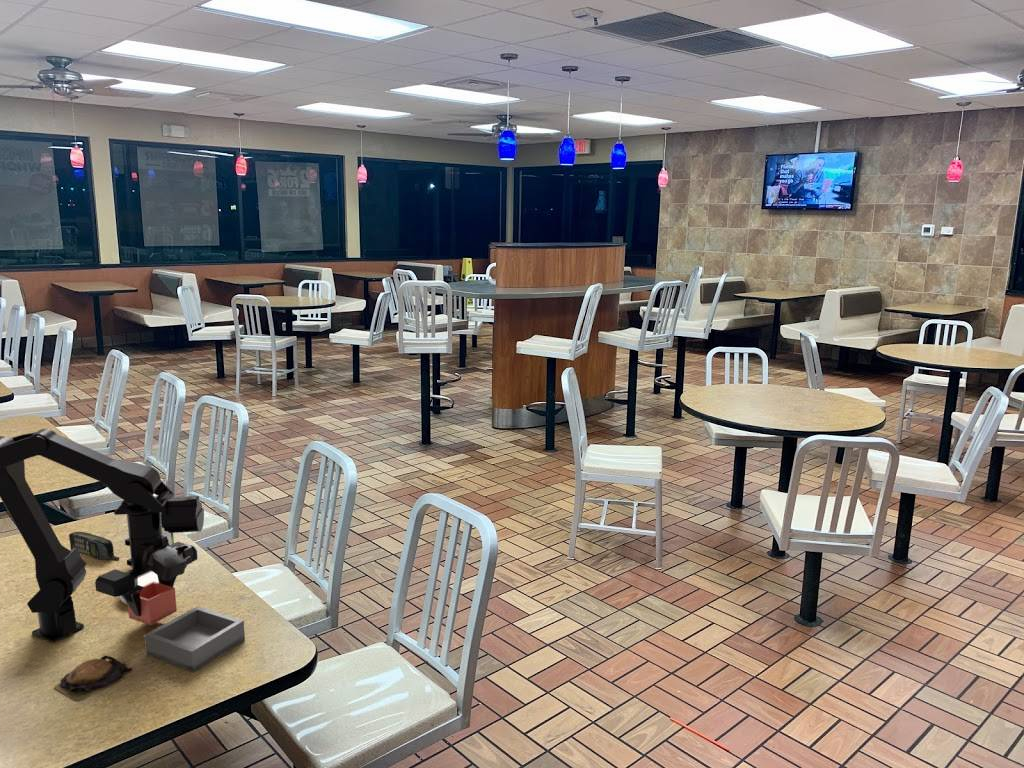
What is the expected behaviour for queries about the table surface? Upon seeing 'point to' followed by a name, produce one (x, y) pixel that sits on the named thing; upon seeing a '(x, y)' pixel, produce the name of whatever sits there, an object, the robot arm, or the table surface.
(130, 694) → the table surface
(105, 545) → the mobile phone
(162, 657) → the big crate
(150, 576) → the white round container
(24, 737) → the table surface
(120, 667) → the bread roll
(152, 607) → the small crate
